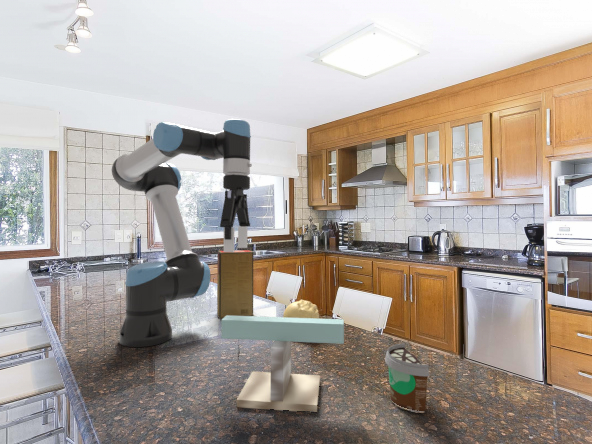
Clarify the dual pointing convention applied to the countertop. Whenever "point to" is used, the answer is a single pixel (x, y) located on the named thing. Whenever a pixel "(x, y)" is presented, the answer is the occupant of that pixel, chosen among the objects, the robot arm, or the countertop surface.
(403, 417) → the countertop surface
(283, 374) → the balance stand
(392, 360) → the food container
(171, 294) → the robot arm
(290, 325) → the beam
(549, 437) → the countertop surface
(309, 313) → the sculpture
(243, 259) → the food packaging
